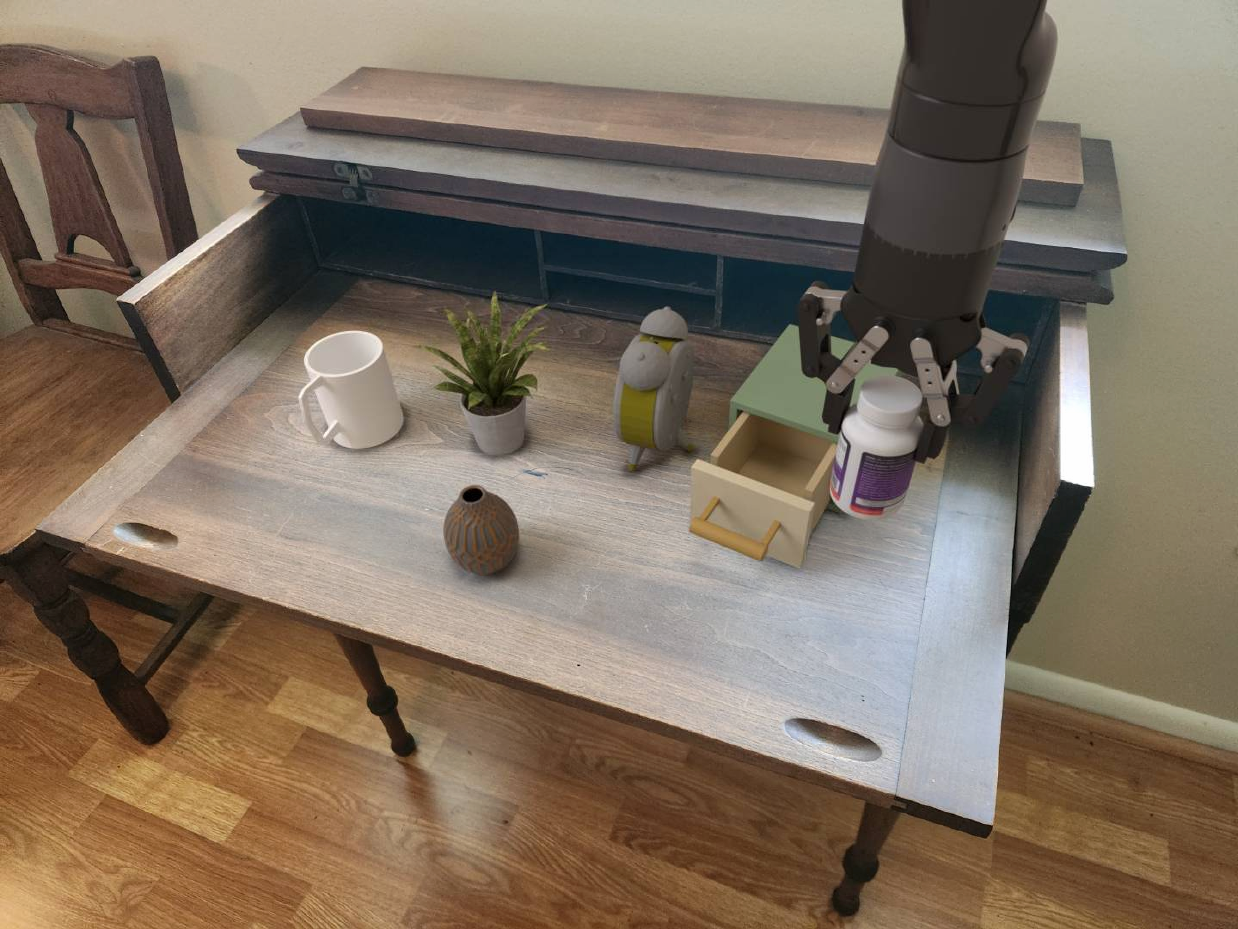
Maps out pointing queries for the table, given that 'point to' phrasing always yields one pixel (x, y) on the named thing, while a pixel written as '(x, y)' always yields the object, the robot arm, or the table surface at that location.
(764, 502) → the drawer
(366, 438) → the cup
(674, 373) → the alarm clock
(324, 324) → the table surface
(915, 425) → the pill bottle
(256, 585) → the table surface
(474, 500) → the vase
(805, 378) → the cabinet
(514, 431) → the house plant
